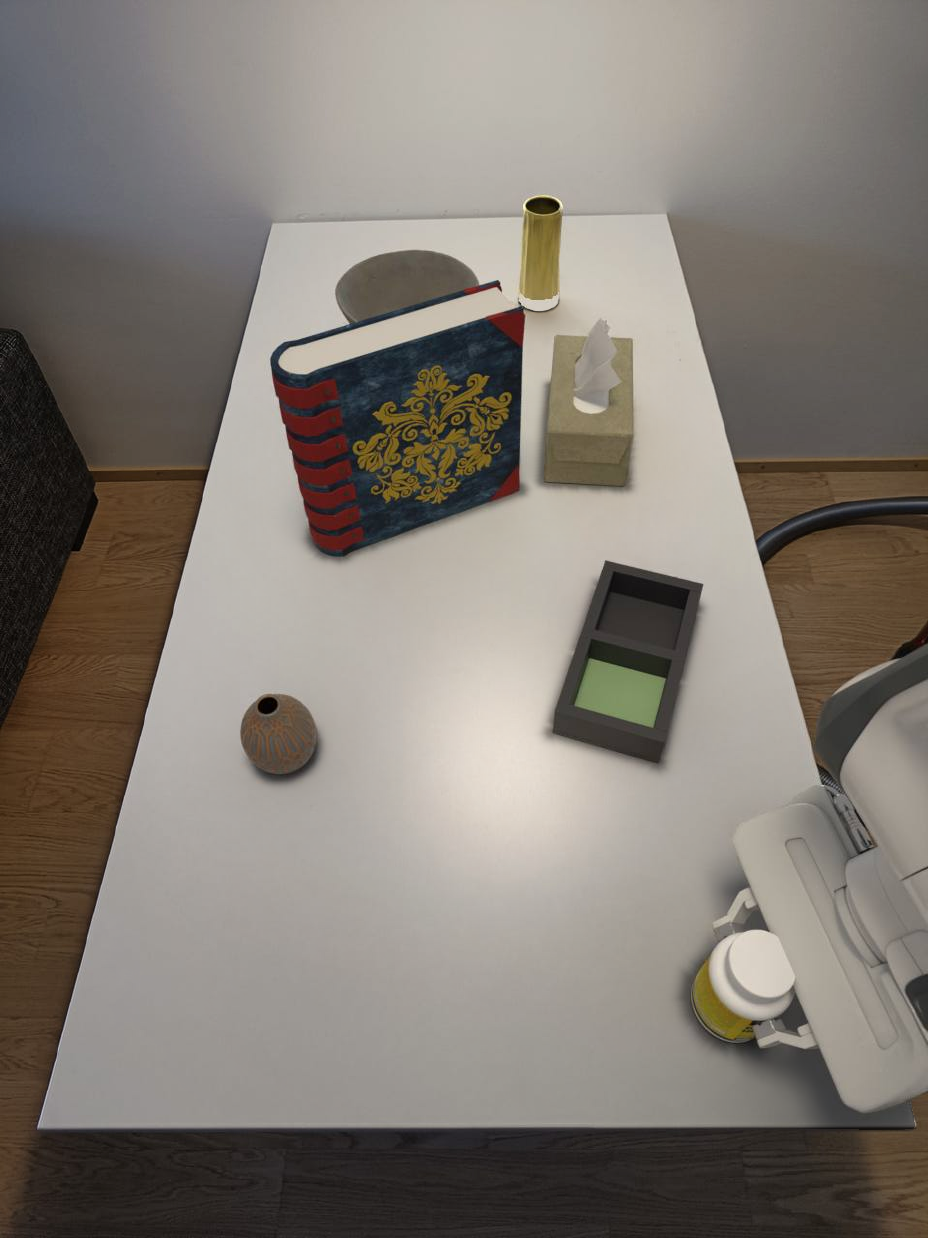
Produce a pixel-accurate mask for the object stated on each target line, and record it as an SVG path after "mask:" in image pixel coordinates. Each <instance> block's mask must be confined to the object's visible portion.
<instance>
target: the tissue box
mask: <svg viewBox="0 0 928 1238" xmlns="http://www.w3.org/2000/svg"><path fill="white" fill-rule="evenodd" d="M607 321H608V319H607V320H606V319H605V320H604V319H603V318H601V317H599V319H598V320H597V321H596V322H595V324H594V325H593V326H592V327H591V329H589V332H588V334H587V336H586V335H567V334H565V335H563V334H555V335H554V337H553V349H552V363H551V373H550V387H549V398H548V411H547V421H546V422H547V423H546V424H547V425H546V439H545V454H544V470H543V471H544V473H543V481H544V482H547V483H561V484H562V483H563V484H566V483H567V484H579V485H580V484H581V485H583V484H584V485H599V486H615V487H617V486H618V487H624V486H626V485H627V478H628V474H629V473H628V472H629V465H630V460H631V453H632V449H633V442H634V340H633V338H632V337H614V336H613V337H612V336H610V334H609V331H610V329H611V326H610V325H609V324H607V323H608V322H607Z"/></svg>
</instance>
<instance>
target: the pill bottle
mask: <svg viewBox="0 0 928 1238" xmlns="http://www.w3.org/2000/svg"><path fill="white" fill-rule="evenodd" d="M745 931H746V932H741V933H735V934H732V935H730V936H728V937H726V938H724V939H723V940H722V941H721V942H720V943H719V942H718V944H717V945H716V946H715V947H714V949H713V950H712V952H711V953H710V955H709V956H708V958H706V960H705V962H704V963H703V965H702V966H701V968H700V969H699V971H698V972H697V974H696V975H695V977H694V979H693V981H692V985H691V990H690V999H691V1005H692V1009H693V1011H694V1014H695V1016H696V1019H697V1020H698V1021H699V1023H700V1024H701V1025H702V1027H703V1029H705V1030H706V1031H707V1032H709V1033H710V1034H711V1035H713V1037H716V1038H717V1039H719V1040H722V1041H723V1042H728V1043H737V1044H738V1043H745V1042H749V1041H751V1040H753V1039H756V1037H755V1035H754V1032H753V1030H752V1026H753V1025H756V1024H761V1023H762V1022H763V1021H766V1020H768V1019H779V1017H780V1016H781V1015H783V1014H784V1013H785V1012H786V1011H787V1010H788V1009H789V1006H790V1005H791V1003H792V1002H793V999H794V997H795V994H796V992H795V990H794V987H793V984H794V982H795V975H794V973H793V970H792V968H791V966H790V963H789V961H788V959H787V956H786V954H785V952H784V949H783V947H782V945H781V942H780V940H779V938H778V937H777V936H776V935H774V934H772V933H770V931H767V930H764V929H750V930H745Z"/></svg>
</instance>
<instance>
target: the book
mask: <svg viewBox="0 0 928 1238" xmlns="http://www.w3.org/2000/svg"><path fill="white" fill-rule="evenodd" d="M500 281H501V280H499V279H496V280H493V281H489V282H485V283H483V284H479V285H478V286H475V287H471V288H467V289H464V290H462V291H459V292H456V293H452V294H449V295H446V296H442V297H439V298H435V299H432V300H429V301H425V302H422V303H419V304H415V305H412V306H409V307H405V308H402V309H399V310H395V311H392V312H389V313H385V314H382V315H379V316H375V317H372V318H368V319H365V320H362V321H358V322H355V323H352V324H350V323H349V324H345V325H341V326H338V327H335V328H331V329H329V330H325V331H322V332H318V333H315V334H313V335H308V336H305V337H302V338H298V339H294V340H293V339H292V340H288V341H283V342H282V343H281V344H279V345H278V346H277V347H276V348H275V349H274V351H272V353H271V356H270V359H269V361H270V370H271V378H272V383H273V389H274V393H275V396H276V397H277V398H278V405H279V411H280V412H279V413H280V416H281V422H282V424H283V425H284V426H285V427H284V429H285V435H286V440H287V444H288V449H289V450H290V451H291V456H292V462H293V468H294V469H293V470H294V471H295V473H296V476H297V477H296V478H297V484H298V490H299V492H300V495H301V497H302V501H303V509H304V512H305V516H306V518H307V520H308V528H309V533H310V536H311V539H312V541H313V542H314V544H315V546H316V548H317V549H318V550H319V551H321V553H324V554H326V555H329V556H333V557H345V556H346V555H348V554H349V553H352V552H353V551H357V550H359V549H361V548H364V547H367V546H370V545H372V544H376V543H378V542H381V541H383V540H386V539H390V538H392V537H394V536H397V535H400V534H403V533H406V532H409V531H412V530H413V529H417V528H419V527H423V526H425V525H428V524H431V523H433V522H436V521H439V520H442V519H445V518H447V517H450V516H452V515H456V514H458V513H460V512H463V511H466V510H469V509H472V508H476V507H477V506H480V505H483V504H486V503H488V502H490V503H491V502H492V501H495V500H498V499H501V498H504V497H506V496H509V495H512V494H514V493H517V492H519V491H520V470H521V469H520V468H521V431H522V428H521V427H522V394H523V390H522V389H523V356H524V355H523V353H524V349H523V348H524V336H525V324H526V314H525V308H523V307H522V306H521V305H520V306H517V307H515V306H514V305H513V304H512V302H510V300H509V299H508V298H507V296H505V294H504V293H503V288H502V286H501V282H500Z"/></svg>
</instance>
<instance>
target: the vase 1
mask: <svg viewBox="0 0 928 1238" xmlns="http://www.w3.org/2000/svg"><path fill="white" fill-rule="evenodd" d="M239 735H240V743H241V746H242V748H243V751H244V753H245V754H246V756H247V758H248V760H250V762H251V763H252V764H253V765H255V766H256V767H257V768H259V769H260V770H262V771H264V772H266V773H270V774H276V775H283V774H284V775H285V774H289V773H292V772H294V771H297V770H299V769H300V768H302V767H303V766H304V765H305V764H306V763H307V762H308V761H309V759H311V756H312V755H313V753H314V751H315V748H316V745H317V739H318V733H317V726H316V722H315V719H314V716H313V715H312V713H311V711H310V710H309V708H307V707H306V705H305V704H304V703H303V702H302V701H300V700H299V699H297V698H295V697H293V696H291V695H289V694H284V693H266V694H262V695H261V696H259V697H258V698H257V699H256V700H255V701H253V703H251V704H250V705H249V706H248V708H247V710H246V711H245V713H244V714H243V717H242V720H241V723H240V734H239Z"/></svg>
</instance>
